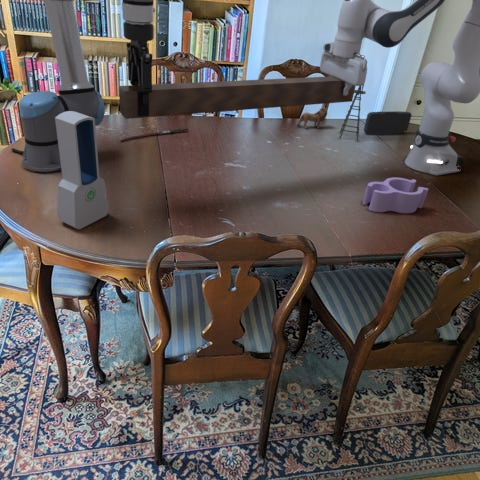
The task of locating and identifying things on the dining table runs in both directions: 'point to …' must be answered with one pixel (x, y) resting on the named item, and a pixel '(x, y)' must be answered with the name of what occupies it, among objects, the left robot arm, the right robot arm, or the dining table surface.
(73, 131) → the electronic device
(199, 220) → the dining table surface
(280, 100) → the post
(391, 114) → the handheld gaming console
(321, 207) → the dining table surface
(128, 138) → the sword
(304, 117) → the lion figurine
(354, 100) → the miniature windmill
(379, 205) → the clip
